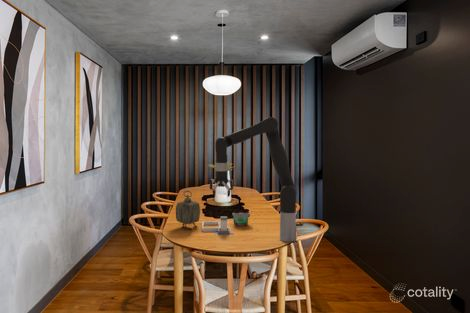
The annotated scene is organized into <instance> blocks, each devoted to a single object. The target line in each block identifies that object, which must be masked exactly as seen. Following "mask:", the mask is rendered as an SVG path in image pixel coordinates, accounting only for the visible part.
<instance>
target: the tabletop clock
mask: <svg viewBox="0 0 470 313" xmlns="http://www.w3.org/2000/svg"><path fill="white" fill-rule="evenodd" d="M185 193H190V195H189V194H188V195H186V194H185ZM183 196H184V197H185V198H184V199H183V201H182V200H181V201H180V202H179V201H178V202H177V204H176V206H175V219H176V221H177V222H178V223H181V224H182V226H183V228H184V229H187V225H191V224H193V225H194V227H195V228H197V227H198V226H197V225H196V224H195V223H197V222H199V221H200V216H201V206H200V203H199V202H197V201H194V200H192V198H191V197H192V196H193V193H192V192H191V191H189V190H185V191H184V192H183Z"/></svg>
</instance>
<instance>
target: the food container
mask: <svg viewBox="0 0 470 313" xmlns="http://www.w3.org/2000/svg"><path fill="white" fill-rule="evenodd" d="M231 215H232V220H233V225H234V226H235V227H247V226H248V225H249V217H250V212H232V214H231Z"/></svg>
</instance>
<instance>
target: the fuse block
mask: <svg viewBox="0 0 470 313" xmlns="http://www.w3.org/2000/svg"><path fill="white" fill-rule="evenodd" d="M217 228H218V227H217ZM213 235H214V236H216V235H217V236H218V235H220V236H221V235H223V236H224V235H228V236H229V235H234V231H233V230H230V228H229V227H227V231H220V228H218V231H213Z"/></svg>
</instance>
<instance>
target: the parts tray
mask: <svg viewBox="0 0 470 313" xmlns="http://www.w3.org/2000/svg"><path fill="white" fill-rule="evenodd" d="M204 226H218V227H204ZM220 226H221V222H220V221H215V220H214V221H202V224H201V232H203V233H204V232H206V233H207V232H214V231H218V228H220Z"/></svg>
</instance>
